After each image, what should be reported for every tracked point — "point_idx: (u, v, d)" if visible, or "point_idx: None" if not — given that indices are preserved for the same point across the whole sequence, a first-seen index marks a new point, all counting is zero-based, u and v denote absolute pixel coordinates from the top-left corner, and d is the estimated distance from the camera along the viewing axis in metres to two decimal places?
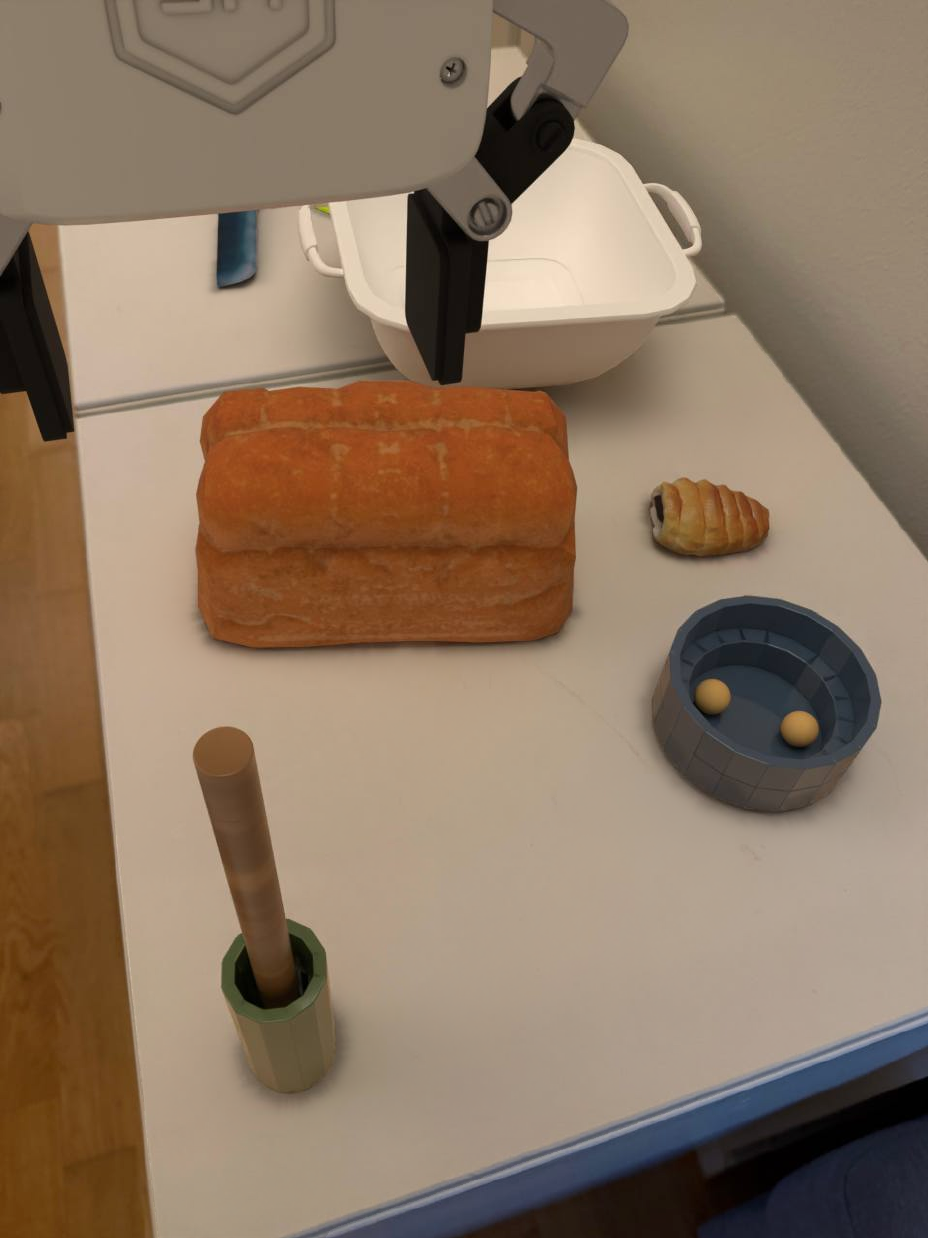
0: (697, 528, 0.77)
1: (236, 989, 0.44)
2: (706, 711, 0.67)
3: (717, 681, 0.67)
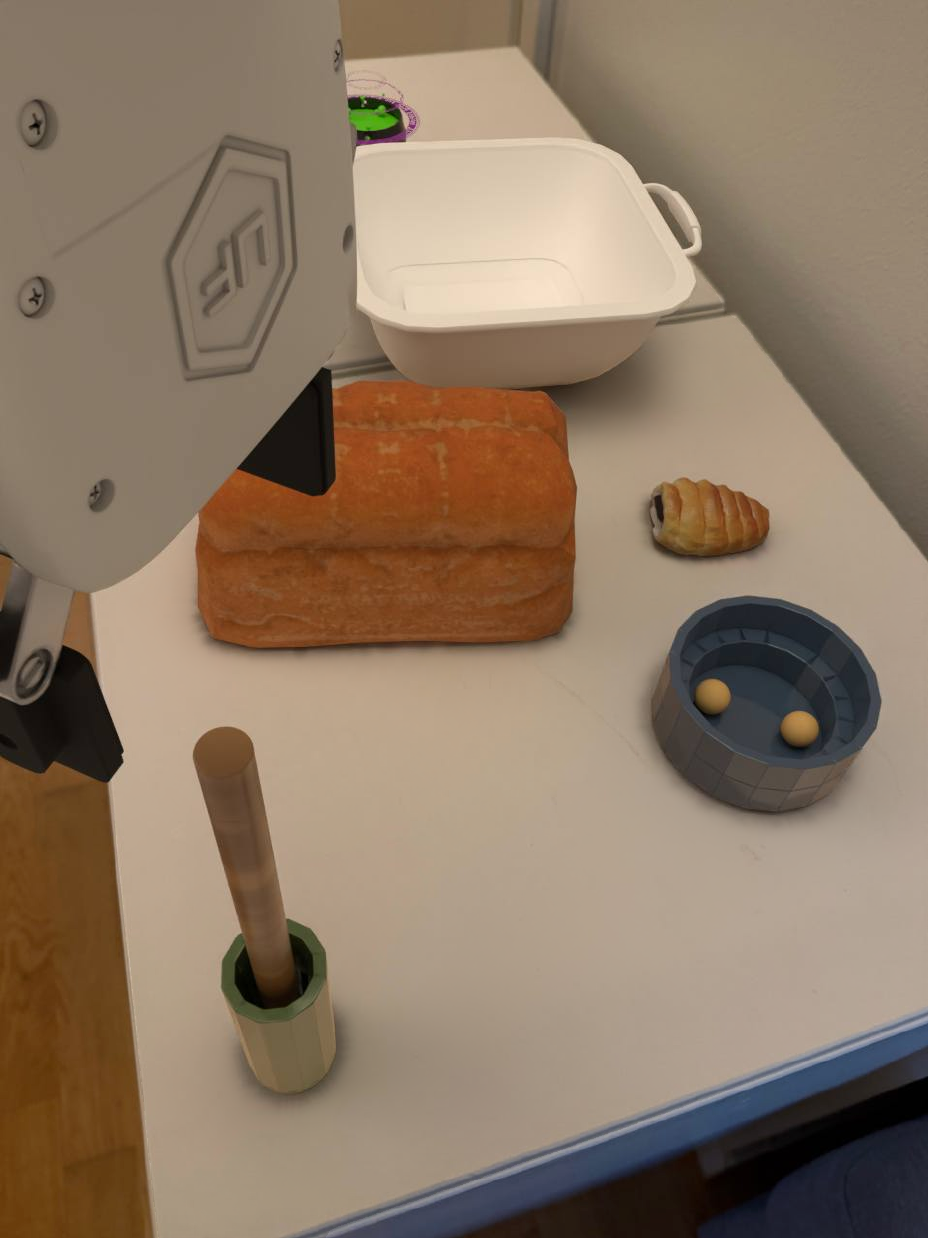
0: (697, 528, 0.77)
1: (236, 989, 0.44)
2: (706, 711, 0.67)
3: (717, 681, 0.67)
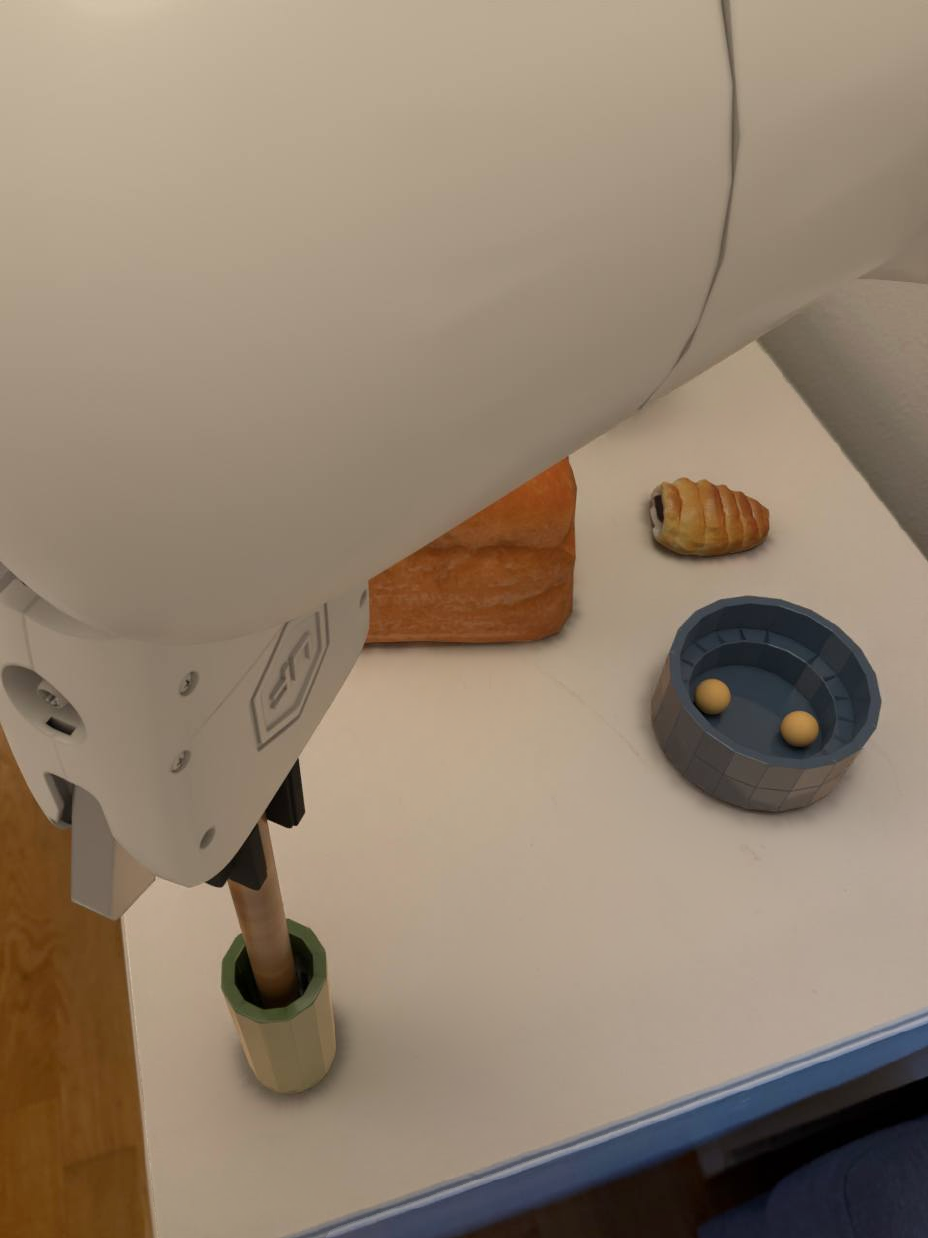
0: (697, 528, 0.77)
1: (236, 989, 0.44)
2: (706, 711, 0.67)
3: (717, 681, 0.67)
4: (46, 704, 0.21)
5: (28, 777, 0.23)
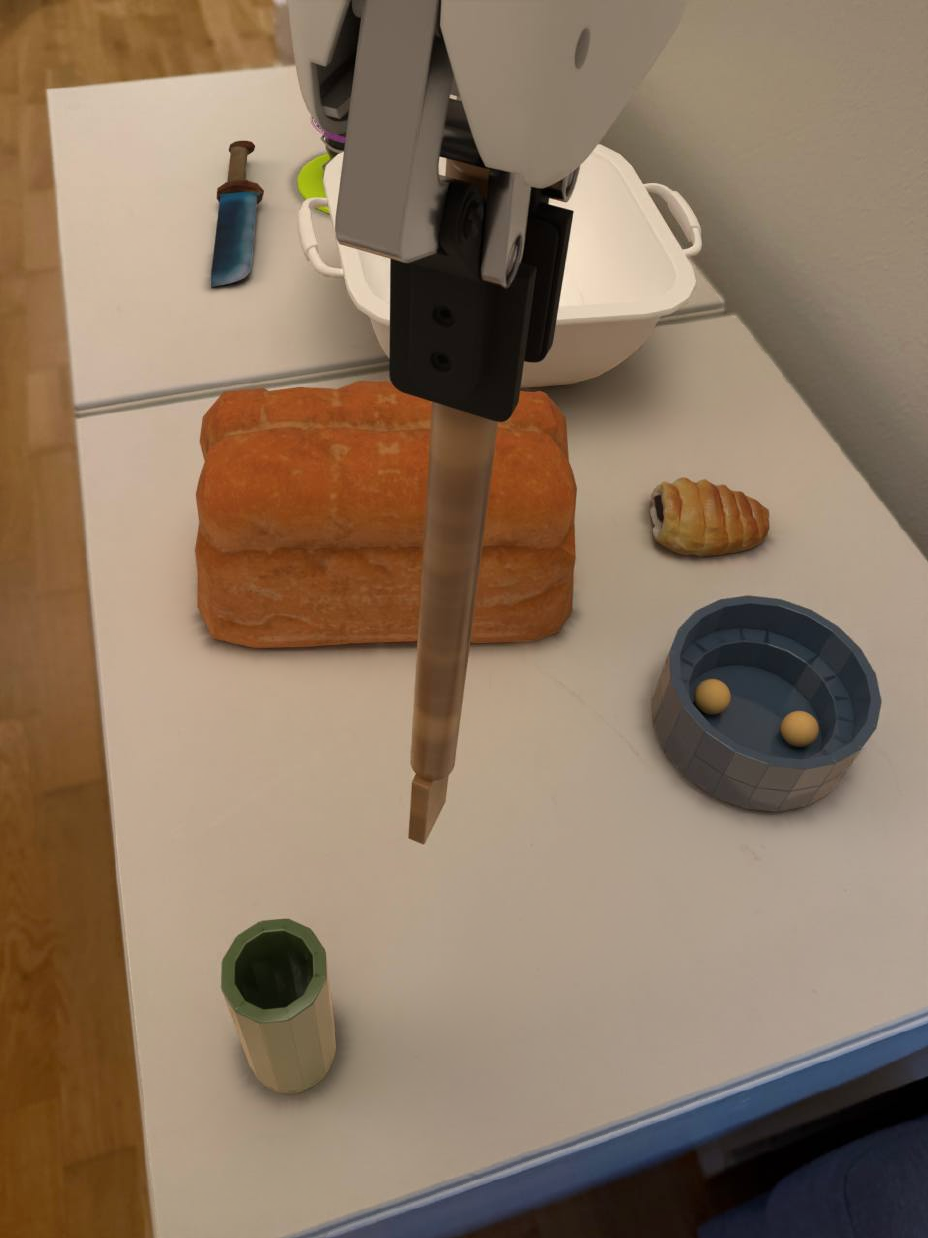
0: (697, 528, 0.77)
1: (236, 989, 0.44)
2: (706, 711, 0.67)
3: (717, 681, 0.67)
4: None
5: None
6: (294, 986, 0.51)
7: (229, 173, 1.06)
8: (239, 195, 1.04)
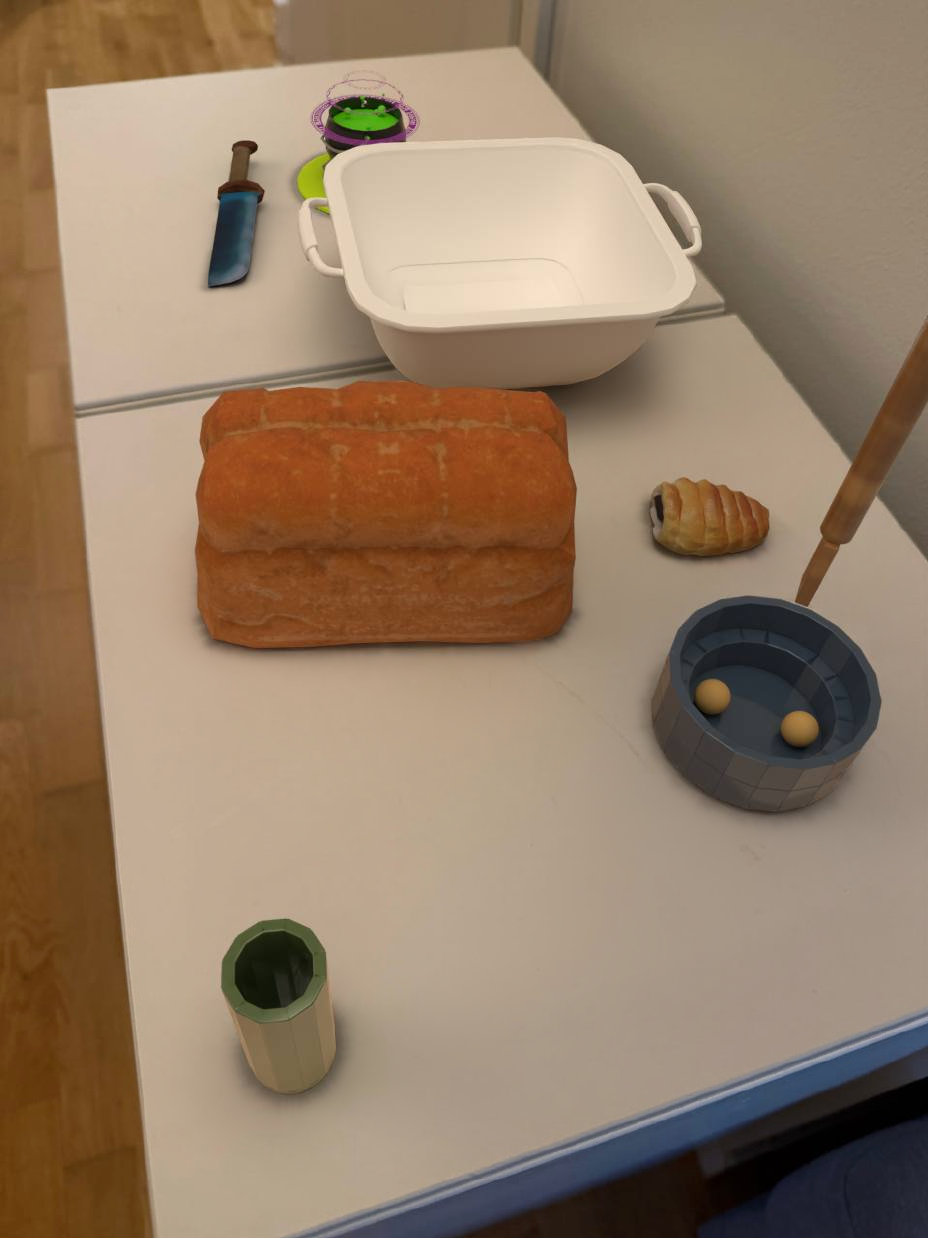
0: (697, 528, 0.77)
1: (236, 989, 0.44)
2: (706, 711, 0.67)
3: (717, 681, 0.67)
4: None
5: None
6: (294, 986, 0.51)
7: (231, 173, 1.06)
8: (240, 195, 1.04)
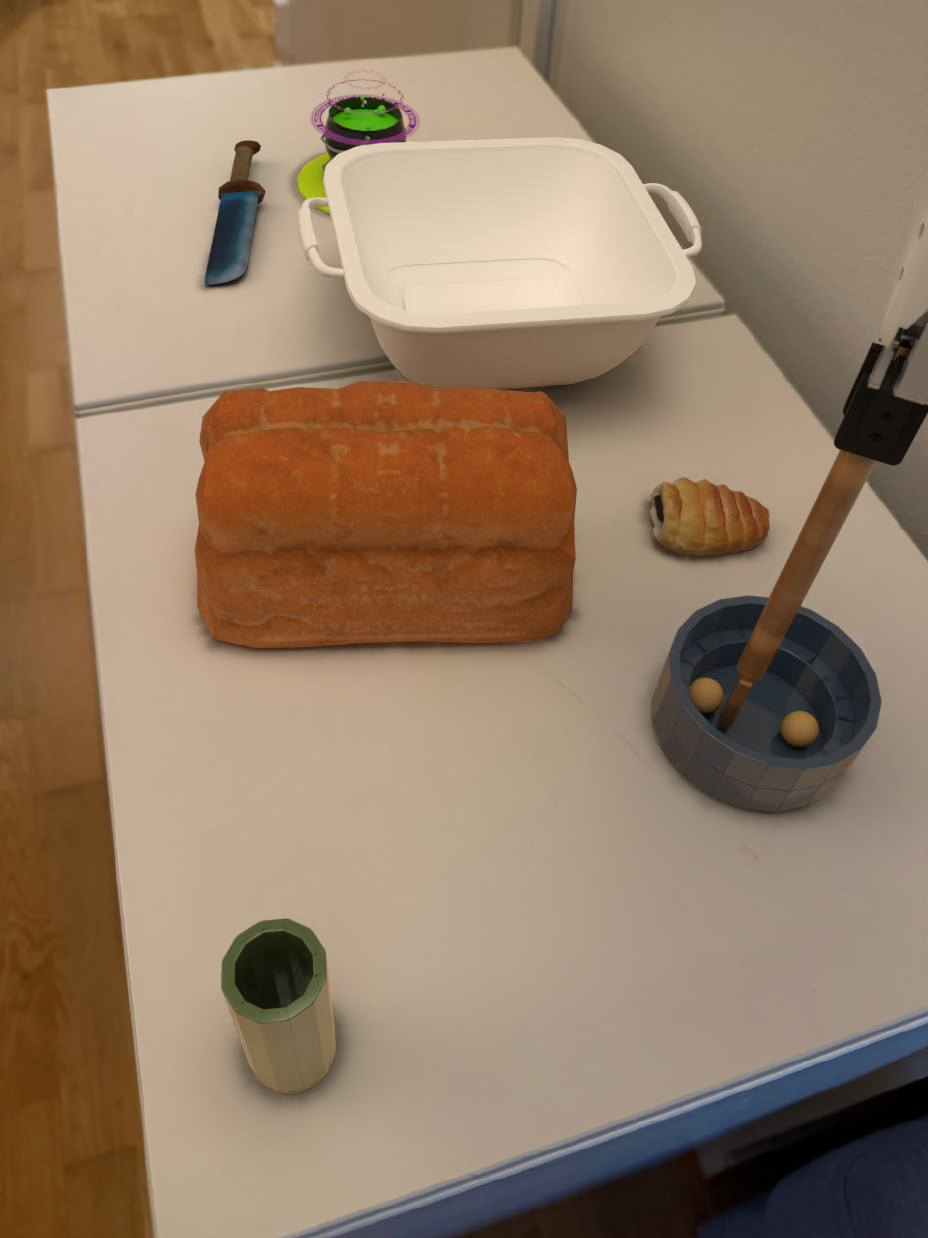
0: (697, 528, 0.77)
1: (236, 989, 0.44)
2: (700, 711, 0.68)
3: (704, 679, 0.68)
4: None
5: (919, 283, 0.38)
6: (294, 986, 0.51)
7: (232, 172, 1.06)
8: (240, 195, 1.04)
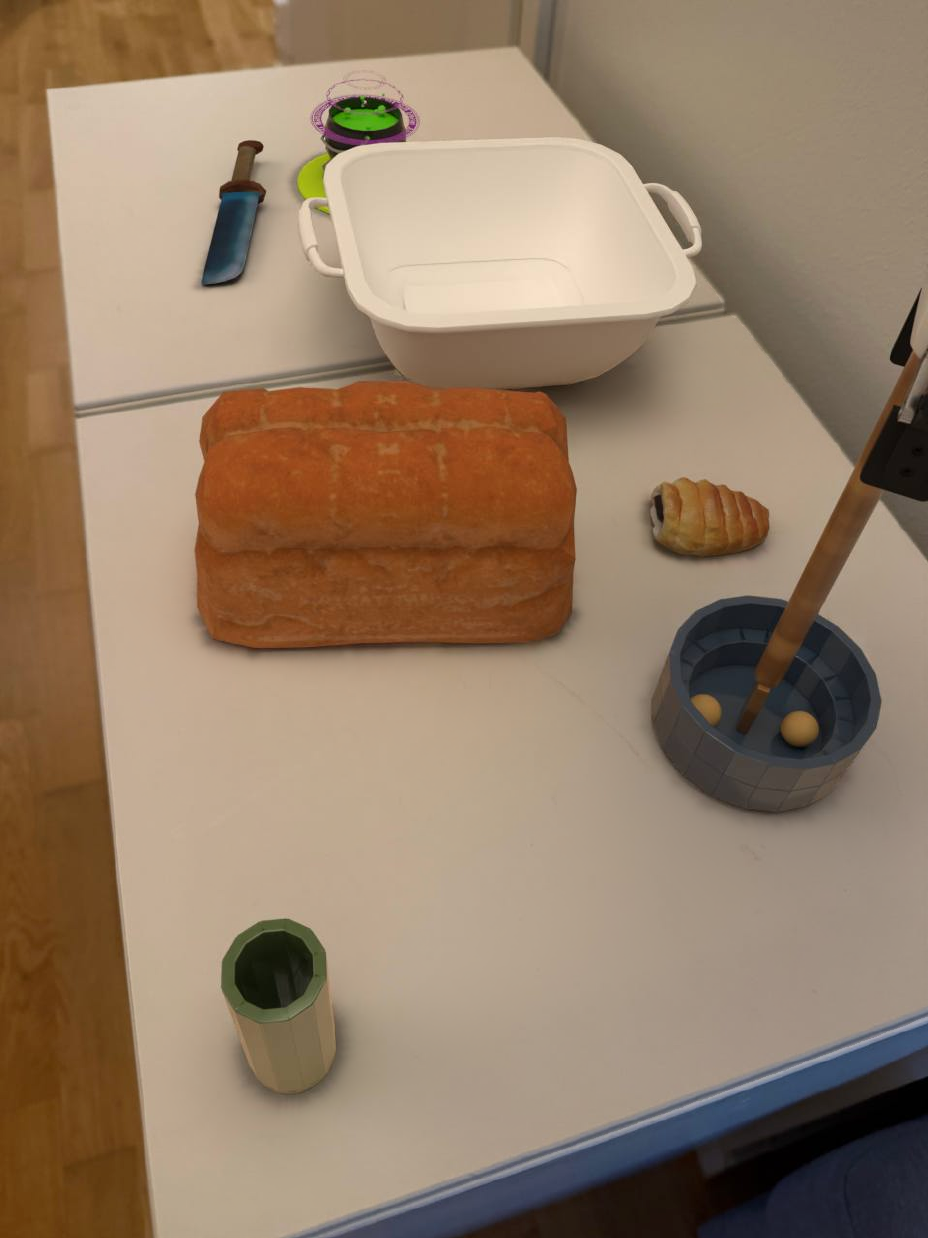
0: (697, 528, 0.77)
1: (236, 989, 0.44)
2: None
3: None
4: None
5: None
6: (294, 986, 0.51)
7: (234, 172, 1.06)
8: (241, 195, 1.04)
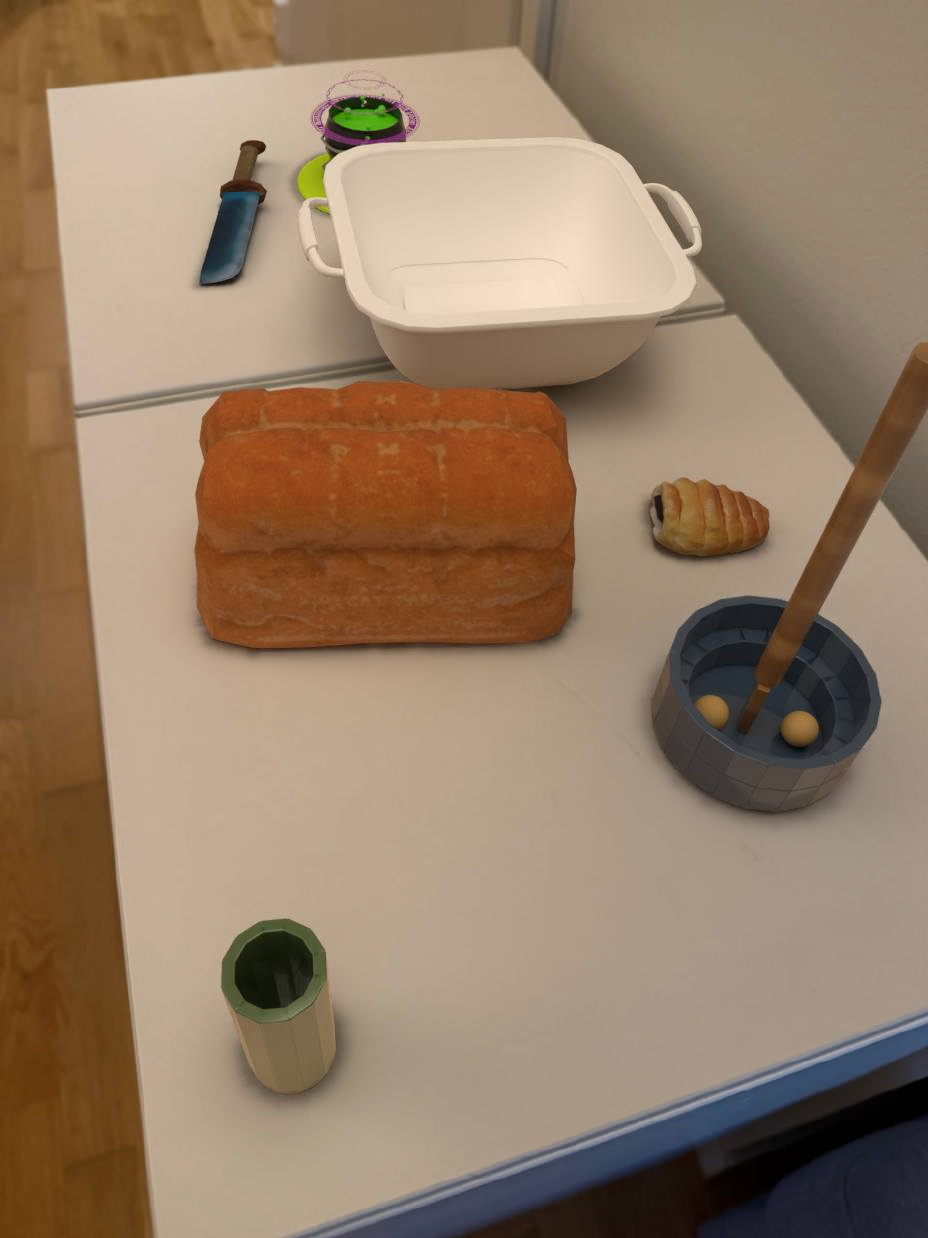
0: (697, 528, 0.77)
1: (236, 989, 0.44)
2: None
3: (713, 712, 0.66)
4: None
5: None
6: (294, 986, 0.51)
7: (235, 172, 1.06)
8: (242, 195, 1.04)
